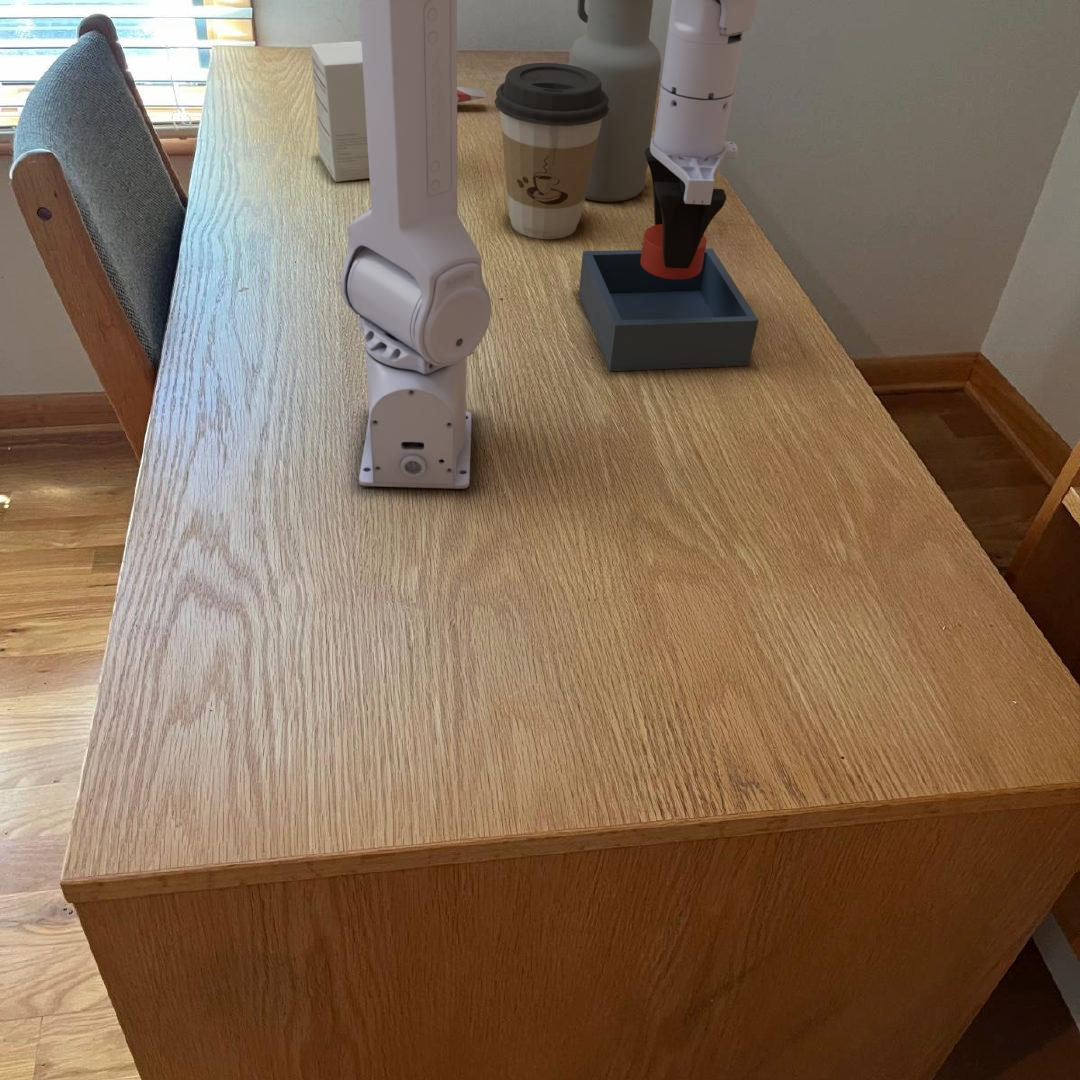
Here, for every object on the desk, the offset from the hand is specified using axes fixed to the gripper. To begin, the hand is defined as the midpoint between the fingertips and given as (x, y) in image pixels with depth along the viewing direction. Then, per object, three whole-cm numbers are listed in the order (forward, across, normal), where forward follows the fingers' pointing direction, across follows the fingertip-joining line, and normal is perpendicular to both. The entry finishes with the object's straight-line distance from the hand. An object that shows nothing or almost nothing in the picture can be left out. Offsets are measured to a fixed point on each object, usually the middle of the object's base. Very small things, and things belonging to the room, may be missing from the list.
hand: (672, 250), depth 89 cm
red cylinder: (+1, 0, 0) cm, 1 cm away
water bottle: (+8, +32, +3) cm, 33 cm away
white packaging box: (+8, +34, +31) cm, 47 cm away
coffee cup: (+8, +21, +10) cm, 25 cm away
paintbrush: (+6, +55, +26) cm, 61 cm away
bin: (+8, 0, 0) cm, 8 cm away
